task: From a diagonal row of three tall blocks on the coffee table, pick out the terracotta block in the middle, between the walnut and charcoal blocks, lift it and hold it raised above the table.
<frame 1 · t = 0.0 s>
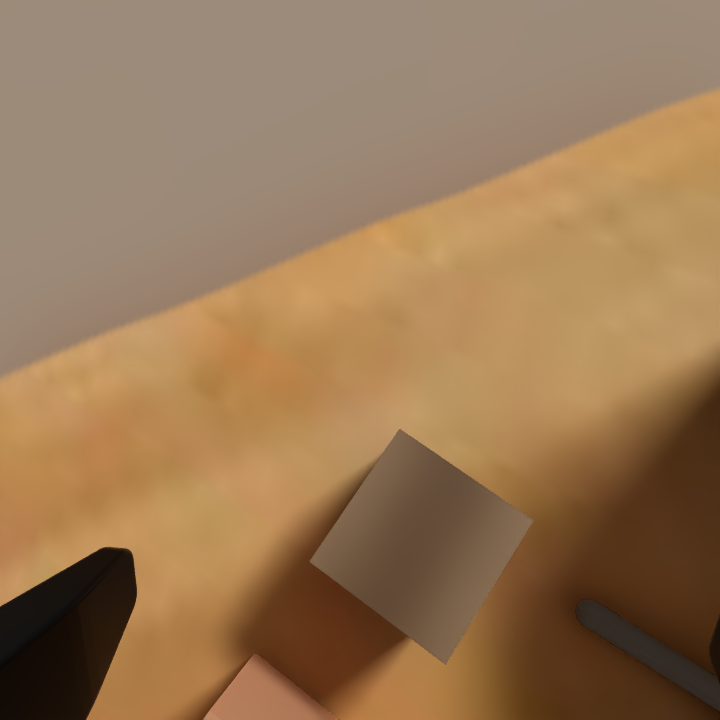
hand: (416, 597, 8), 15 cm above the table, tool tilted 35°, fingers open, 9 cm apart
walnut block: (411, 527, 23), on the table
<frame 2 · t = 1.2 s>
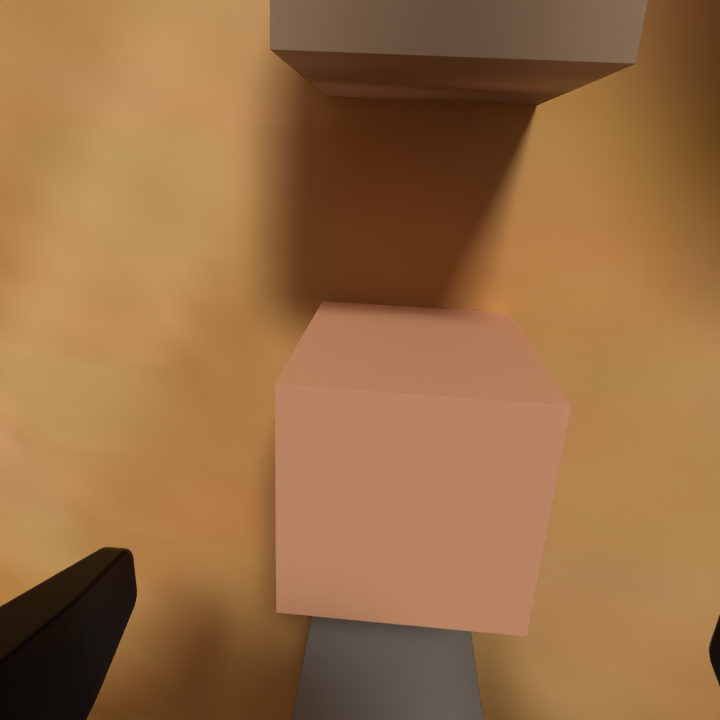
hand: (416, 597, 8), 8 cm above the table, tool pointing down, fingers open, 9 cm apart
charcoal block: (386, 657, 19), on the table
terracotta block: (407, 391, 16), on the table
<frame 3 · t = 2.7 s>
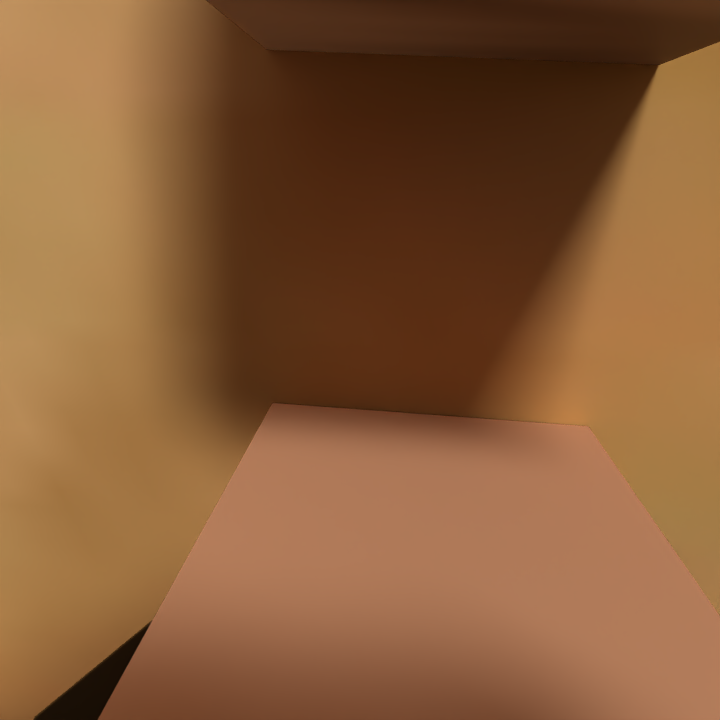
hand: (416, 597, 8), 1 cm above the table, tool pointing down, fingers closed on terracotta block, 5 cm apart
terracotta block: (415, 544, 10), on the table, touching gripper
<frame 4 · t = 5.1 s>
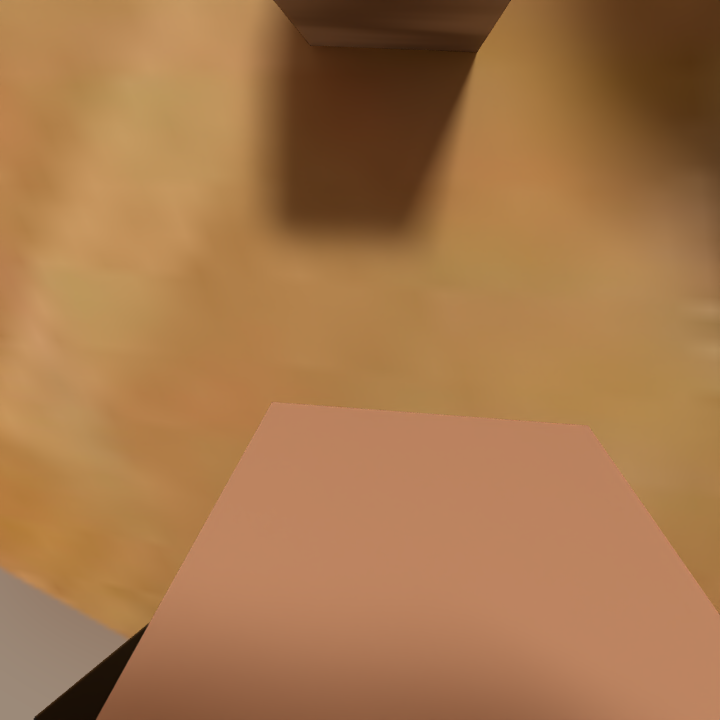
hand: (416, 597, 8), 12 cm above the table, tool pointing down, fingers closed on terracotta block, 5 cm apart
terracotta block: (415, 544, 10), point 11 cm above the table, touching gripper
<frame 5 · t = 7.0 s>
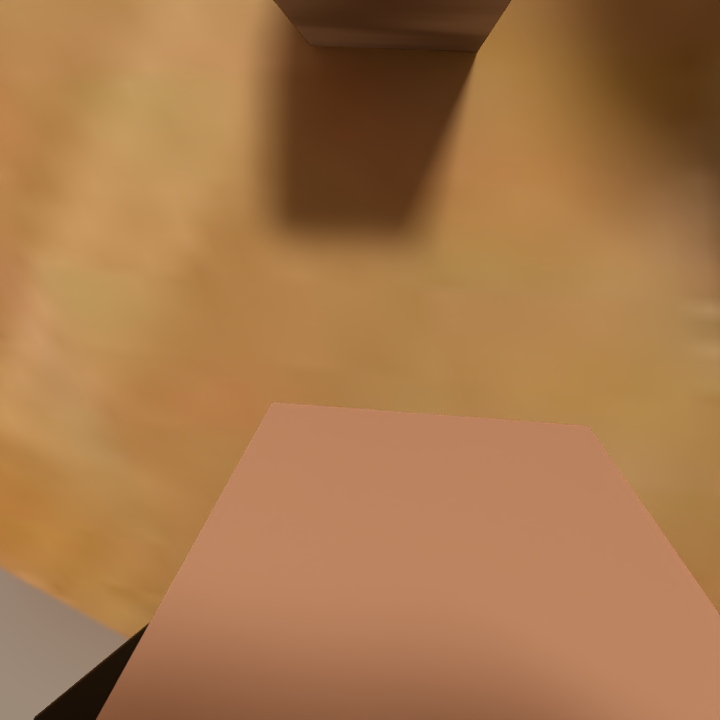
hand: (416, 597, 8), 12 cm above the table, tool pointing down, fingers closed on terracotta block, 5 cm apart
terracotta block: (415, 544, 10), point 11 cm above the table, touching gripper
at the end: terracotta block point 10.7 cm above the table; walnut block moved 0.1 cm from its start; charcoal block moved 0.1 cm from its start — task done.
